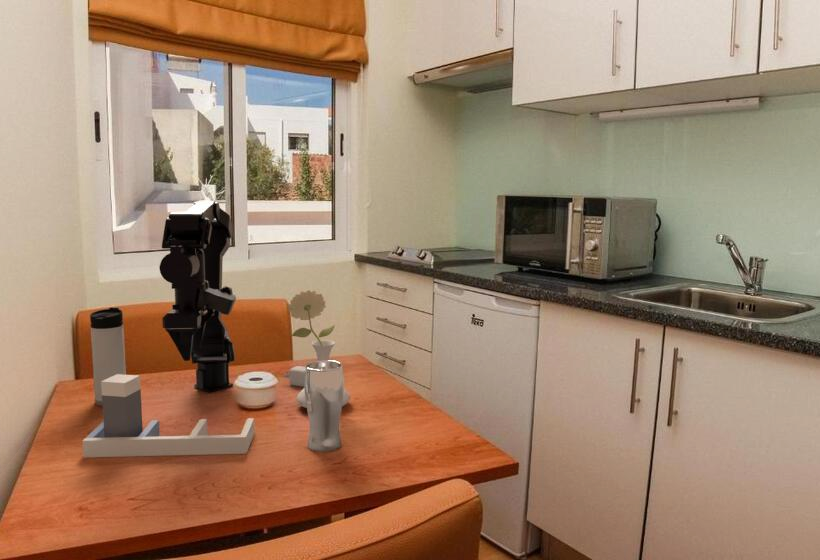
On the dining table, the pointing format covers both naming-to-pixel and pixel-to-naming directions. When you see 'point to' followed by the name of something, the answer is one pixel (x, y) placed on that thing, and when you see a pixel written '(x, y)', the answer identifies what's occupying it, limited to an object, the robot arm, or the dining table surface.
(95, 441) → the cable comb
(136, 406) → the grey tall block
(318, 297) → the flower in vase
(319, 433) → the beer glass
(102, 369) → the travel mug
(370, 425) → the dining table surface
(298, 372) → the usb wall charger
